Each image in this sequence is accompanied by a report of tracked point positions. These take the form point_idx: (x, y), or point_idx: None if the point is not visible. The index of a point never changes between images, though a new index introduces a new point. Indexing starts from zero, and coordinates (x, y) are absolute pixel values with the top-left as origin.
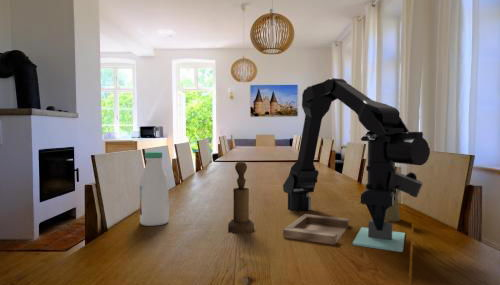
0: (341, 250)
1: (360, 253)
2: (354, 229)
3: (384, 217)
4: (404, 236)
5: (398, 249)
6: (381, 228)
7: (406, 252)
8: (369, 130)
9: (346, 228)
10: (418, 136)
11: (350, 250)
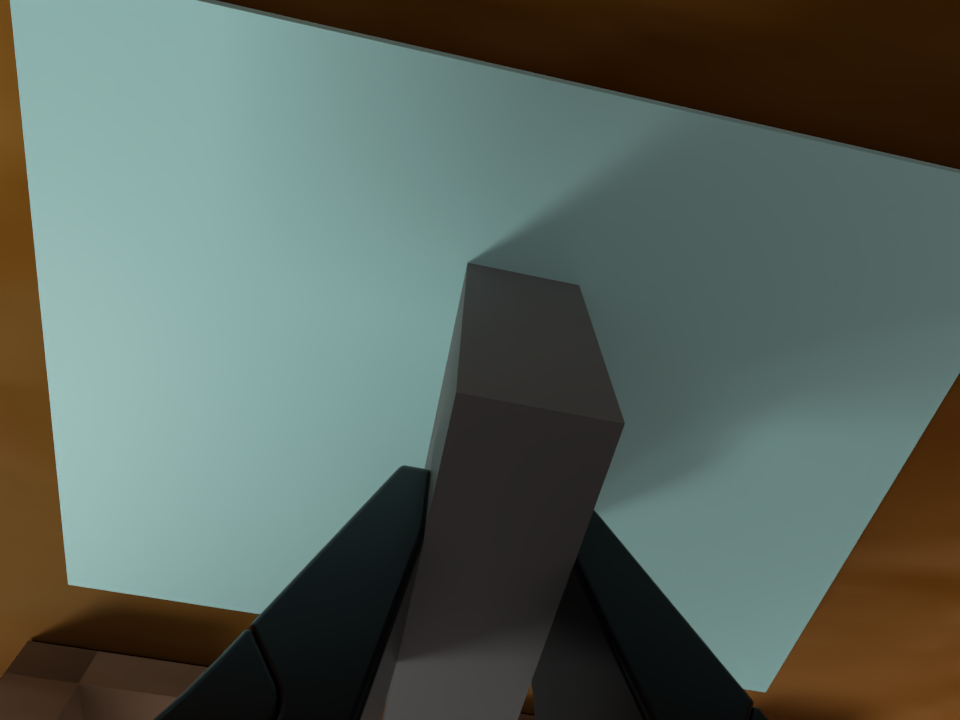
0: (806, 709)
1: (890, 589)
2: (25, 593)
3: (760, 712)
4: (253, 12)
5: None
6: (597, 526)
7: (859, 92)
8: None
9: (154, 695)
10: None
11: (802, 654)
